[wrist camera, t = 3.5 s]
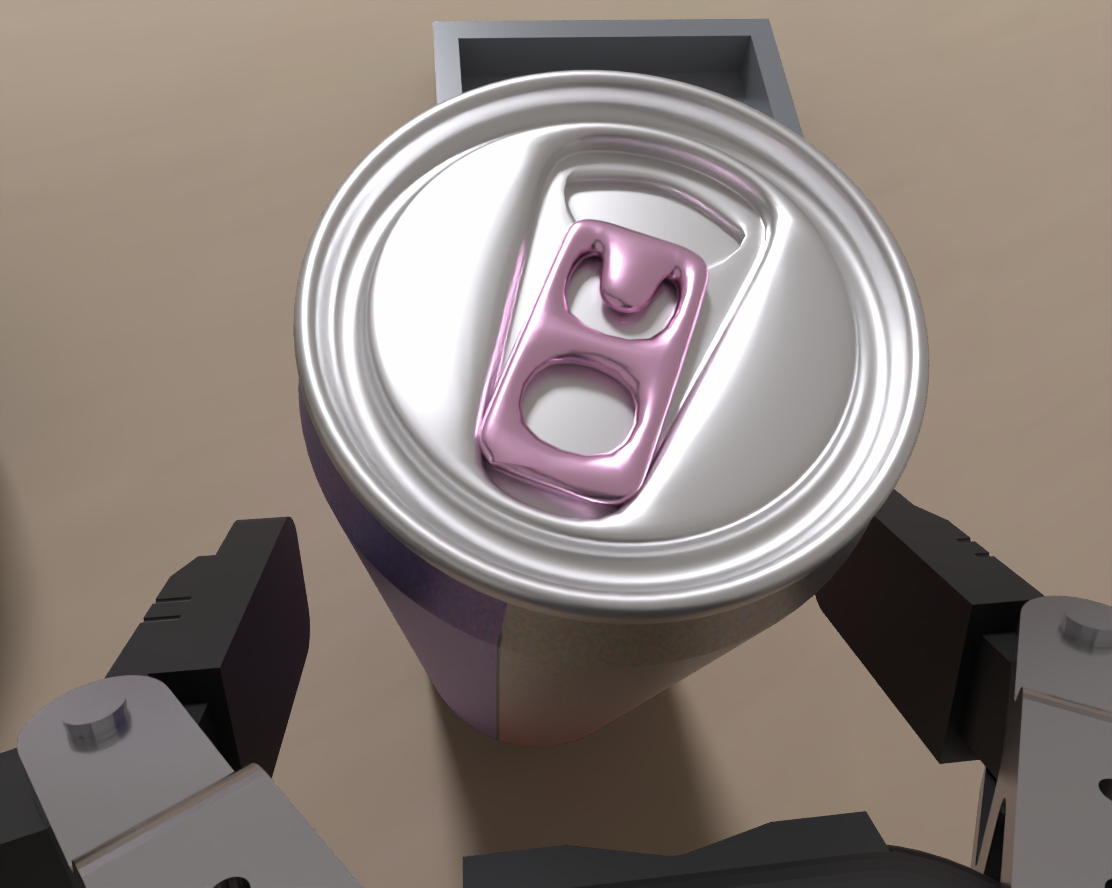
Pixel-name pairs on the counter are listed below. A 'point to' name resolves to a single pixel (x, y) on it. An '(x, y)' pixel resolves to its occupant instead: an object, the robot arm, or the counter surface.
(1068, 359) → the counter surface
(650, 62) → the tray
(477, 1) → the counter surface
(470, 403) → the beverage can
